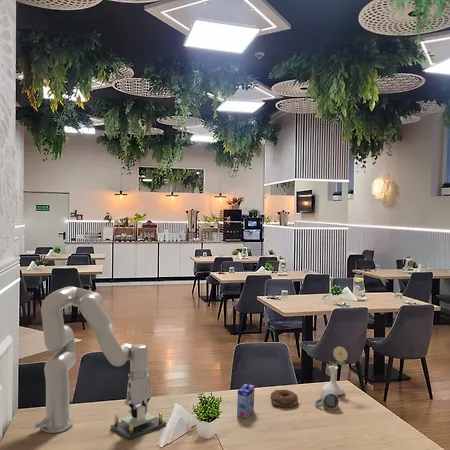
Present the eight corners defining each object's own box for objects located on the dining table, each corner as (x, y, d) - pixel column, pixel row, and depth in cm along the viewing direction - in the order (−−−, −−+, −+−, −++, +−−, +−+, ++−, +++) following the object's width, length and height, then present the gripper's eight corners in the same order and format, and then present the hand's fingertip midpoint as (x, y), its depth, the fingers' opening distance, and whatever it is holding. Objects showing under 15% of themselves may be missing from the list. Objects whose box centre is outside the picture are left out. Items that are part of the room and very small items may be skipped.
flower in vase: (322, 396, 226) (322, 348, 226) (321, 388, 237) (321, 342, 238) (348, 398, 224) (348, 349, 224) (346, 390, 235) (346, 343, 235)
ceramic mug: (334, 403, 218) (334, 387, 218) (339, 409, 210) (338, 393, 210) (313, 403, 218) (313, 387, 218) (317, 410, 210) (316, 394, 210)
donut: (270, 397, 226) (270, 387, 226) (297, 398, 224) (297, 388, 224) (269, 408, 212) (269, 398, 212) (298, 410, 210) (298, 399, 210)
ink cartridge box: (247, 418, 200) (248, 387, 200) (236, 416, 202) (236, 385, 202) (254, 410, 209) (254, 380, 209) (243, 408, 211) (244, 378, 211)
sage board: (132, 427, 183) (132, 413, 183) (121, 420, 189) (121, 407, 189) (156, 418, 192) (156, 405, 192) (144, 412, 198) (144, 399, 198)
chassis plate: (128, 440, 179) (128, 426, 179) (110, 428, 189) (110, 416, 189) (166, 425, 192) (166, 413, 192) (147, 415, 202) (147, 403, 202)
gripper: (127, 380, 182) (127, 424, 182) (159, 371, 194) (159, 412, 194) (117, 376, 187) (117, 418, 187) (149, 367, 199) (149, 407, 199)
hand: (138, 415), depth 190 cm, fingers closed on sage board, 4 cm apart
